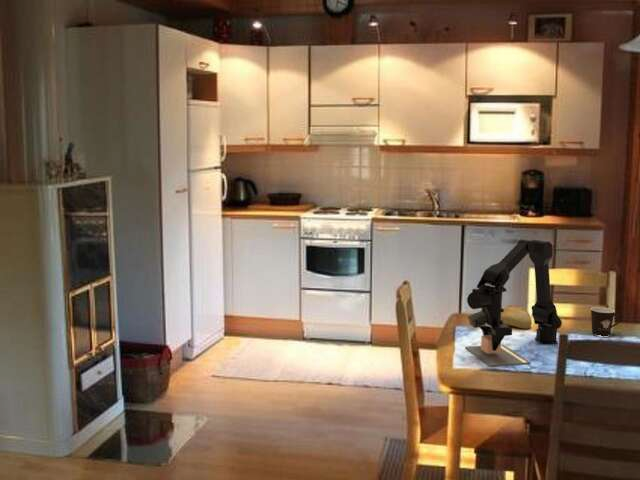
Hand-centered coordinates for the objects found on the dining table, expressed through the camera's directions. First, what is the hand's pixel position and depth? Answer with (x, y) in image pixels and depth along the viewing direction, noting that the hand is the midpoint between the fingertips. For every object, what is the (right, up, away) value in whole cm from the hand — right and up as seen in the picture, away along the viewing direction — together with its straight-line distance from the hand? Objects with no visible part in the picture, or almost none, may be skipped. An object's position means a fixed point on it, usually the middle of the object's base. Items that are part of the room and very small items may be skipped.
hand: (490, 348), depth 255 cm
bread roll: (+18, +3, +39) cm, 43 cm away
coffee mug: (+51, +1, +28) cm, 58 cm away
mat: (+2, -3, +1) cm, 4 cm away
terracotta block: (0, -1, 0) cm, 1 cm away
